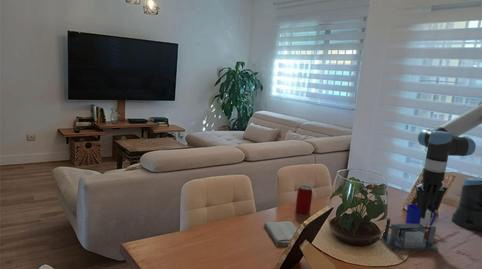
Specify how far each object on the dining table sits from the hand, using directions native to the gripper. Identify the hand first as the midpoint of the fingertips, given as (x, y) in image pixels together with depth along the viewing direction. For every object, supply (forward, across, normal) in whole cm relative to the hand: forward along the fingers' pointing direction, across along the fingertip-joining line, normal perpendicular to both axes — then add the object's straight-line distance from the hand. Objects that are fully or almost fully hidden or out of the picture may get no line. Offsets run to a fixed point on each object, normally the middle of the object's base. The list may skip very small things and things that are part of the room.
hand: (424, 225), depth 143 cm
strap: (+1, +6, 0) cm, 6 cm away
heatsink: (+8, +7, 0) cm, 10 cm away
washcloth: (+8, +57, -6) cm, 58 cm away
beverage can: (+8, +41, -30) cm, 51 cm away
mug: (+8, -8, -13) cm, 17 cm away
